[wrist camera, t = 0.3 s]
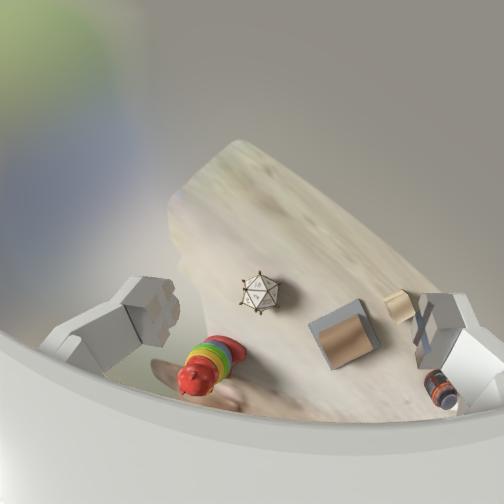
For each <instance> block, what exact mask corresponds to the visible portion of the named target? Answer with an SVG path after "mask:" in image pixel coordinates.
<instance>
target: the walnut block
mask: <svg viewBox="0 0 504 504" xmlns="http://www.w3.org/2000/svg"><path fill="white" fill-rule="evenodd" d="M319 342H320V344H321V346H322V348H323V350H324V352H325V354H326V356H327V358H328V360H329V362H330V364H331V365H332V367H333V368H335V367H338V366H340V365H342V364H344V363H346V362H349V361H351V360H353V359H355V358H357V357H359V356H361V355H363V354H365V353H367V352H369V351H371V350H373V347H372V344H371V341H370V339H369V337H368V335H367V333H366V330H365V328H364V326H363V324H362V322H361V320H360V318H359V316H358V314H356V315H354V316H352V317H350V318H348V319H346V320H344V321H342V322H340V323H338V324H336V325H334V326H332V327H330V328H328V329H326V330H323V331H321V332H319Z"/></svg>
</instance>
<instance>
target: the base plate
mask: <svg viewBox="0 0 504 504" xmlns="http://www.w3.org/2000/svg"><path fill="white" fill-rule="evenodd" d="M356 314H358V316H359V318H360V320H361V322H362V324H363V326H364V328H365V330H366V333H367V335H368V337H369V339H370V341H371V344H372V347H373V350H371V351H369V352H367V353H365V354H363V355H361V356H359V357H357V358H355V359H358V358H360V357H362V356H364V355H366V354H368V353H370V352H372V351H374V350H376V349H378V348H380V344H379V342H378V340H377V338H376V335H375V333H374V331H373V329H372V327H371V324H370V322H369V320H368V318H367V316H366V314H365V312H364V310H363V308H362V305H361V303H360V301H359V299H357V300H355V301H353V302H351V303H349V304H347V305H345V306H343V307H341V308H339V309H338V310H336V311H334V312H332V313H330V314H328V315H326V316H324V317H322V318H320V319H317V320H315V321H313V322H311V323H309V324H308V327H309V329H310V330H311V332H312V334H313V336H314V338H315V340H316V342H317V344H318V346H319V348H320V349H321V351H322V353H323V355H324V357H325V359H326V361H327V363H328V365H329V367H330V369H331V370H334V369H336V368H338V367H340V366H343V365H345V364H347V363H349V362H351V361H353V360H355V359H353V360H351V361H349V362H346V363H344V364H342V365H340V366H338V367H335V368H333V367H332V365H331V364H330V362H329V360H328V358H327V356H326V354H325V352H324V350H323V348H322V346H321V344H320V342H319V332H321V331H323V330H326V329H328V328H330V327H332V326H334V325H336V324H338V323H340V322H342V321H344V320H346V319H348V318H350V317H352V316H354V315H356Z"/></svg>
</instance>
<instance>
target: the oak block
mask: <svg viewBox="0 0 504 504" xmlns="http://www.w3.org/2000/svg"><path fill="white" fill-rule="evenodd" d="M383 300H384V303H385V305H386V307H387V309H388V311H389V314H390V316H391V318H392V319H393V321H394V322H395V323H396V325H398V324H400V323H401V322H403V321H405V320H407V319H409V318H410V317H412V316H414V314H415V310H414V308H413V305H412V303H411V301H410V298H409V296H408V294H407V293H405V292H404V291H403V290H401V289H400V290H398V291H397V292H395V293H393V294H391V295H390V296H388V297H386V298H384V299H383Z"/></svg>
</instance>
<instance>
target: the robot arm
mask: <svg viewBox="0 0 504 504" xmlns="http://www.w3.org/2000/svg"><path fill="white" fill-rule="evenodd" d="M174 290H175V288H174V285H173V282H172V281H171V280H170V279H163V278H156V277H147V276H138V275H134V276H131V277H130V278H129V279H128V280H127V281H126V283H125V284H124V285H123V286H122V287H121V288H120V290H119V291H118V292H117V293H116V294H115V296H114V297H113V298H112V299H111V300H110V302H104V303H102V304H100V305H98V306H96V307H94V308H92V309H90V310H88V311H86V312H85V313H83V314H80V315H78V316H77V317H75V318H73V319H71V320H69V321H67V322H65V323H63V324H61V325H59V326H57V327H55V328H54V329H53V331H52V332H51V333H50V334H49V335H48V337H47V338H46V339H45V341H43V343H42V344H41V345H40V346H39V348H38V349H35V348H33V347H31V346H29V345H27V344H25V343H23V342H21V341H20V340H18V339H16V338H14V337H12V336H10V335H8V334H7V333H5V332H3V331H1V330H0V504H504V344H503V343H502V342H501V341H500V340H499V339H498V338H496V337H495V336H494V335H493V334H492V333H490V332H489V331H488V330H487V329H486V328H484V327H480V325H479V323H478V321H477V319H476V316H475V314H474V312H473V310H472V308H471V305H470V303H469V301H468V299H467V297H466V295H465V294H464V293H422V295H421V296H420V299H419V302H418V305H419V308H420V310H419V311H417V312H416V313H415V314H414V318H413V321H412V328H411V335H412V341H413V343H414V344H415V345H416V346H417V349H416V352H415V356H416V361H417V367H418V369H441V371H442V372H443V373H444V375H445V376H446V377H447V378H448V380H449V381H450V382H451V384H452V385H453V386H454V388H455V389H456V390H457V392H458V393H459V394H460V395H461V397H462V398H463V399H464V401H465V402H466V404H467V405H468V406H469V409H468V410H467V412H466V413H465V414H464V415H462V416H455V417H448V418H440V419H431V420H420V421H407V422H387V423H336V422H316V421H302V420H291V419H281V418H272V417H265V416H257V415H250V414H244V413H238V412H232V411H226V410H221V409H216V408H211V407H206V406H201V405H197V404H192V403H188V402H184V401H180V400H176V399H172V398H168V397H164V396H161V395H157V394H153V393H150V392H146V391H143V390H140V389H136V388H133V387H130V386H127V385H124V384H121V383H118V382H115V381H112V380H109V379H108V378H107V377H106V375H105V374H104V373H105V372H106V371H107V370H109V369H110V368H112V367H113V366H114V365H115V364H117V363H118V362H120V361H121V360H122V359H124V358H125V357H126V356H128V355H129V354H130V353H132V352H133V351H134V350H136V349H137V348H138V347H140V346H141V345H142V344H145V345H150V346H156V347H161V348H162V347H163V345H164V344H165V342H166V340H167V338H168V337H169V335H170V332H169V328H171V327H173V326H174V325H175V324H176V323H177V321H178V319H179V314H180V304H179V301H178V299H177V298H176V297H175V296H174V295H173V292H174Z"/></svg>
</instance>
